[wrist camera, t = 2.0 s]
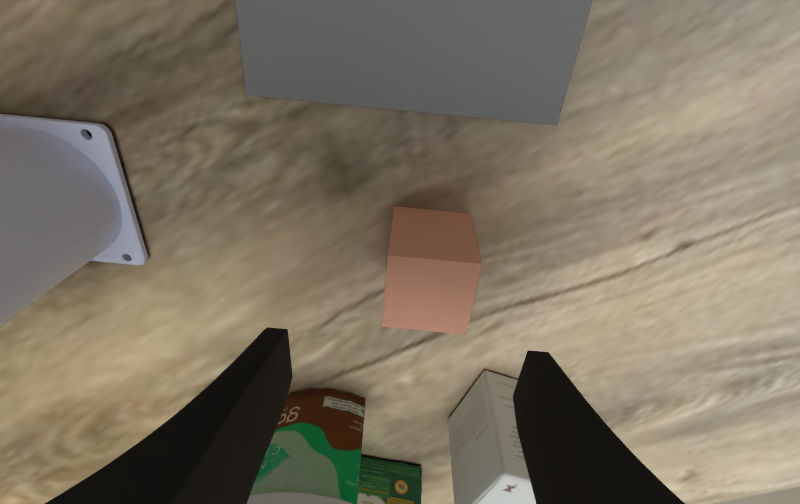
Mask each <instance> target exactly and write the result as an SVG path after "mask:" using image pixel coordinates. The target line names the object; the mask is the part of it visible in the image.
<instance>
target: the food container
mask: <svg viewBox="0 0 800 504" xmlns="http://www.w3.org/2000/svg"><path fill="white" fill-rule="evenodd" d="M364 411H365V398H362V397H360V396H358V395H355V394H353V393H350V392H345V391H341V390H336V389H332V388H309V389H305V390H300V391H296V392H292V393H290V394H288V395H287V399H286V402H285V406H284V410H283V412H282V415H281V417H280V420H279V422H278V425H277V427H276V430H275V432H274V435H273V437H272V440H271V442H270V445H269V447H268V450H267V452H266V455H265V457H264V460H263V462H262V465H261V467H260V470H259V472H258V475H257V477H256V480H255V482H254V485H253V487H252V490H251V493H250V496H249V499H248V501H247V504H357V499H358V486H359V474H360V461H361V449H362V436H363V424H364Z"/></svg>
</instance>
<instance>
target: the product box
mask: <svg viewBox="0 0 800 504" xmlns="http://www.w3.org/2000/svg"><path fill="white" fill-rule="evenodd" d="M517 382H518V380H515V379H512V378H509V377H506V376H502V375H499V374H496V373H493V372H490V371H484V372H483V373H482V374H481V376H480V377H479V378H478V380H477V381H476V382H475V384H474V385H473V386H472V388H471V389H470V391H469V392H468V393H467V395H466V396H465V398H464V399H463V400H462V402H461V403H460V404H459V406H458V407H457V408H456V410H455V411H454V413H453V414H452V415H451V417H450V418H449V419H448V426H449V438H450V453H451V466H452V479H453V491H454V503H455V504H536V501H535V497H534V493H533V489H532V485H531V482H530V478H529V474H528V470H527V466H526V463H525V459H524V455H523V451H522V447H521V443H520V439H519V435H518V431H517V425H516V418H515V411H514V403H513V394H514V391H515V388H516V385H517Z"/></svg>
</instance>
